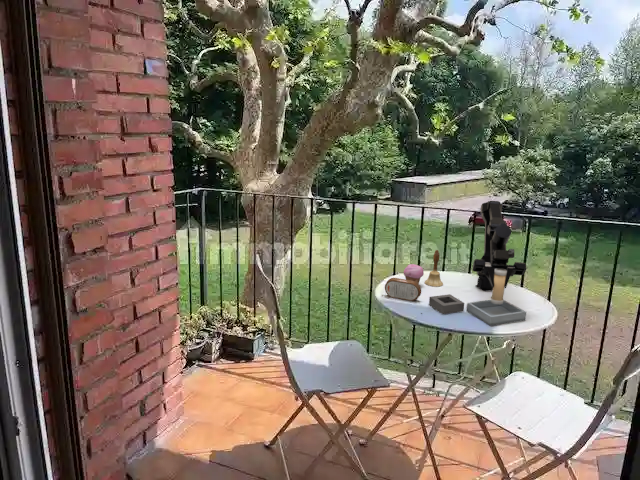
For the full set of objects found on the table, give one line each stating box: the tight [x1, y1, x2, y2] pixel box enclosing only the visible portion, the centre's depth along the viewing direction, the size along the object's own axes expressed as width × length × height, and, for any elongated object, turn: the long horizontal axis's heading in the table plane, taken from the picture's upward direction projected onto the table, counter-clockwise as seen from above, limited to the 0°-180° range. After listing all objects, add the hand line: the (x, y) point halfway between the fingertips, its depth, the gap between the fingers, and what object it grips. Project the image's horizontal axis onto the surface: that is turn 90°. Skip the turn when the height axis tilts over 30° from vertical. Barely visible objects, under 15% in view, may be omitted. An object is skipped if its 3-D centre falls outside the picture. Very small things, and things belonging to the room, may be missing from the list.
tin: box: [384, 277, 422, 302], centre depth 193 cm, size 15×3×8 cm, turn 65°
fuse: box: [490, 268, 507, 305], centre depth 175 cm, size 4×4×13 cm
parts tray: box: [466, 299, 527, 327], centre depth 178 cm, size 16×14×4 cm
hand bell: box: [424, 249, 444, 288], centre depth 210 cm, size 8×8×16 cm
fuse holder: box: [428, 294, 465, 315], centre depth 184 cm, size 10×10×4 cm
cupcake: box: [403, 263, 425, 285], centre depth 207 cm, size 9×9×10 cm
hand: (499, 287), depth 174 cm, fingers closed on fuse, 4 cm apart
